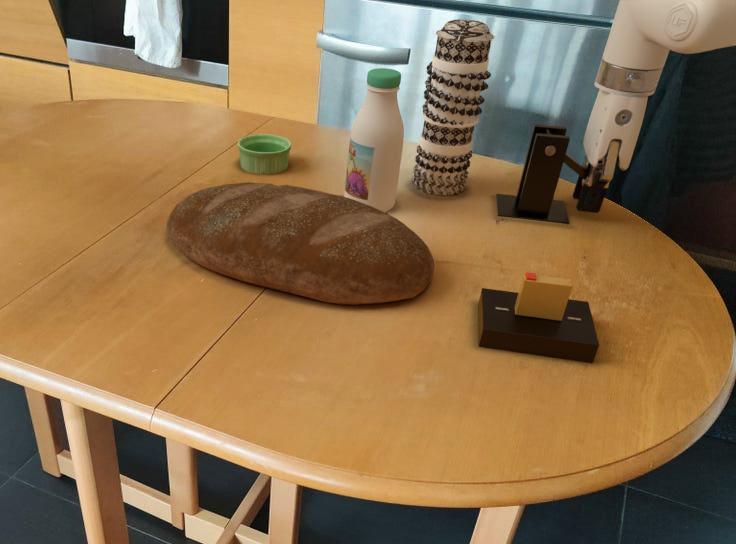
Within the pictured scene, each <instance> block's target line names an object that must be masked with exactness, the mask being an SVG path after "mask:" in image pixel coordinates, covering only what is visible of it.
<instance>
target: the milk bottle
mask: <svg viewBox="0 0 736 544" xmlns="http://www.w3.org/2000/svg"><path fill="white" fill-rule="evenodd" d="M401 82H402V73H401V72H400V71H399V70H397V69H393V68H385V67H383V68H382V67H379V68H372V69H370V70H368V71H367V76H366V86H365V88H366V89H367V92H366V96H365V99H364V101H363V103H362V106H361V107H360V109H359V111H358V112H357V115H356V117H355V119H354V121H353V123H352V127H351V131H350V137H349V138H350V139H349V144H348V153H347V154H348V155H347V163H346V173H345V183H344V184H345V185H344V194H343V195H344V196H343V197H347V198H350V199H353V200H356V201H359V202H361V203H364V204H366V205H369V206H371V207H374V208H376V209H378V210H380V211H382V212H385V213H387V214H388V212H389V210H391V209H393V208H394V207H395V203H396V199H397V193H398V192H397V191H398V185H399V178H400V171H401V170H400V169H401V163H402V155H403V147H404V138H405V137H404V136H405V128H404V122H403V118H402V117H403V116H402V115H401V111H400V106H399V101H398V92H399V90H401V87H400V86H401Z"/></svg>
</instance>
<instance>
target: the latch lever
mask: <svg viewBox="0 0 736 544" xmlns="http://www.w3.org/2000/svg"><path fill="white" fill-rule="evenodd" d="M542 134H550V135H554V134H553V133H552V132H551V131H550V130H548V129H546V130H545V131H544V132H543V133H542ZM563 164H565V165H566V166H567V167H568V168H570V169H571V170H572V171H573V172H575V174H577V175H578V177H579V176H581V177H582V178H583V180H582V186H583V184H586V183H587V179H588V176H589V171H587V170H586V169H585V168H584V167H583V166H582V165H583V164H580V162H578V161H577V160H575V158H574V157H572V156H571V155H570V154H569V153H567V152H566V155H565V158H564V162H563ZM597 172H600V171H596V172H595V174H596V173H597Z"/></svg>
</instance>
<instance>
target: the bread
mask: <svg viewBox="0 0 736 544" xmlns="http://www.w3.org/2000/svg"><path fill="white" fill-rule="evenodd" d="M165 229H166V231H167V234H168V236H169V238H170V240H171V241H172V242H173V244H174V245H175V246H176V247H177V248H178V249H179V251H181V252H182V253H183V254H184V255H185V256H186V257H187V258H188V259H190V260H191V261H192V262H195V263H196V264H198V265H199V266H202V267H203V268H205V269H207V270H210V271H212V272H215V273H217V274H220V275H223V276H226V277H229V278H232V279H235V280H237V281H241V282H244V283H248V284H251V285H254V286H259V287H263V288H267V289H272V290H275V291H280V292H284V293H290V294H292V295H297V296H300V297H301V296H302V297H305V298H308V299H312V300H316V301H320V302H324V303H329V304H330V303H331V304H337V305H373V304H374V305H375V304H382V303H390V302H391V303H392V302H397V301H401V300H407V299H412V298H415V297H416V296H418V295H419V294H421V293H422V292H423V291H425V289H426V288H427V286H428V285H429V283H430V282H431V280H432V279H433V276H434V273H435V267H436V266H435V259H434V256H433V255H432V252H431V251H430V248H429V246H428V245H427V244H426V243H425V242H424V241H423V239H422V238H421V237H420V236H419V235H418V234H416V232H415V231H413V230H412V229H411V228H410V227H408V226H407V225H406V224H405V223H404V222H402V221H401V220H399V219H398V218H396V217H394V216H393V215H390V214H389V213H388V212H387V213H385V212H382V211H380V210H378V209H376V208H374V207H371V206H369V205H366V204H364V203H361V202H359V201H356V200H353V199H350V198H347V197H344V196H343V195H337V194H334V193H329V192H324V191H321V190H316V189H311V188H306V187H301V186H295V185H289V184H282V185H277V184H273V183H266V182H265V183H264V182H263V183H262V182H249V181H248V182H247V181H246V182H236V183H228V184H221V185H216V186H215V185H214V186H211V187H206V188H203V189H200V190H197V191H195V192H193V193H191V194H189V195H187V196H186V197H185V198H183V199H182V200H180V201H179V202H178V203H176V205H175V206H174V207H173V209H172V210H171V212H170V213H169V216H168V219H167V221H166V227H165Z"/></svg>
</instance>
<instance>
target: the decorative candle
mask: <svg viewBox="0 0 736 544" xmlns="http://www.w3.org/2000/svg"><path fill="white" fill-rule="evenodd" d="M435 35H436V36H437V37H436V38H437V39H436V44H435V51H434V53H433V55H432V61H430V62H429V64H428V65H427V66H426V74H427V75H429V76H428V77H427V79H426V80H425V81H424V84H425V90H424V91H423V98H424V99H425V101H424V103H423V105H422V114H421V118H422V119H423V127H422V133H421V134H420V137H419V144H418V145H417V146H416V153H417V155H416V156H415V159H414V162H415V163H416V164H415V165H414V166H413V169H412V170H413V171H412V173H413V175H412V177H411V183H412V185H413V186H414V187H415V188H416V189H417V190H418V191H422V193H427V194H430V195H432V196H435V195H436V196H440V197H443V196H447V197H448V196H449V197H450V196H451V195H458V194H459V193H461V192H463V191H464V190H465V188H466V187H467V185H466V184H467V181H466V180H467V179H468V178H469V171H468V169H469V168H470V167H471V161H470V159H471V158H472V157H473V150H472V148H473V147H472V146H473V141H474V138H473V134H474V130H475V126H476V125H478V124H479V121H480V116H478V115H481V114H482V113H483V109H482V108H481V107H480V105H482V104H483V103H485V101H486V99H485V98H484V97H483V96H482V95H481V92H484V91H486V90H488V89H489V84H488V83H487V82H486V80H489V79H490V78H491V76H492V73H491V72H489V70H488V67H489V62H490V58H489V55H490V52H491V44H492V41H493V40H494V39H495V35H494V34H492V33H491V31H490V28H489V26H488V25H487V24H486V23H485V22H483V21H480V20H474V19H465V18H464V19H462V18H461V19H452V20H448V21H447V22H446V23H445V24H444V25H443V27H441V29H440V30H439V29H438V30H437V31H436V32H435Z"/></svg>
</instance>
